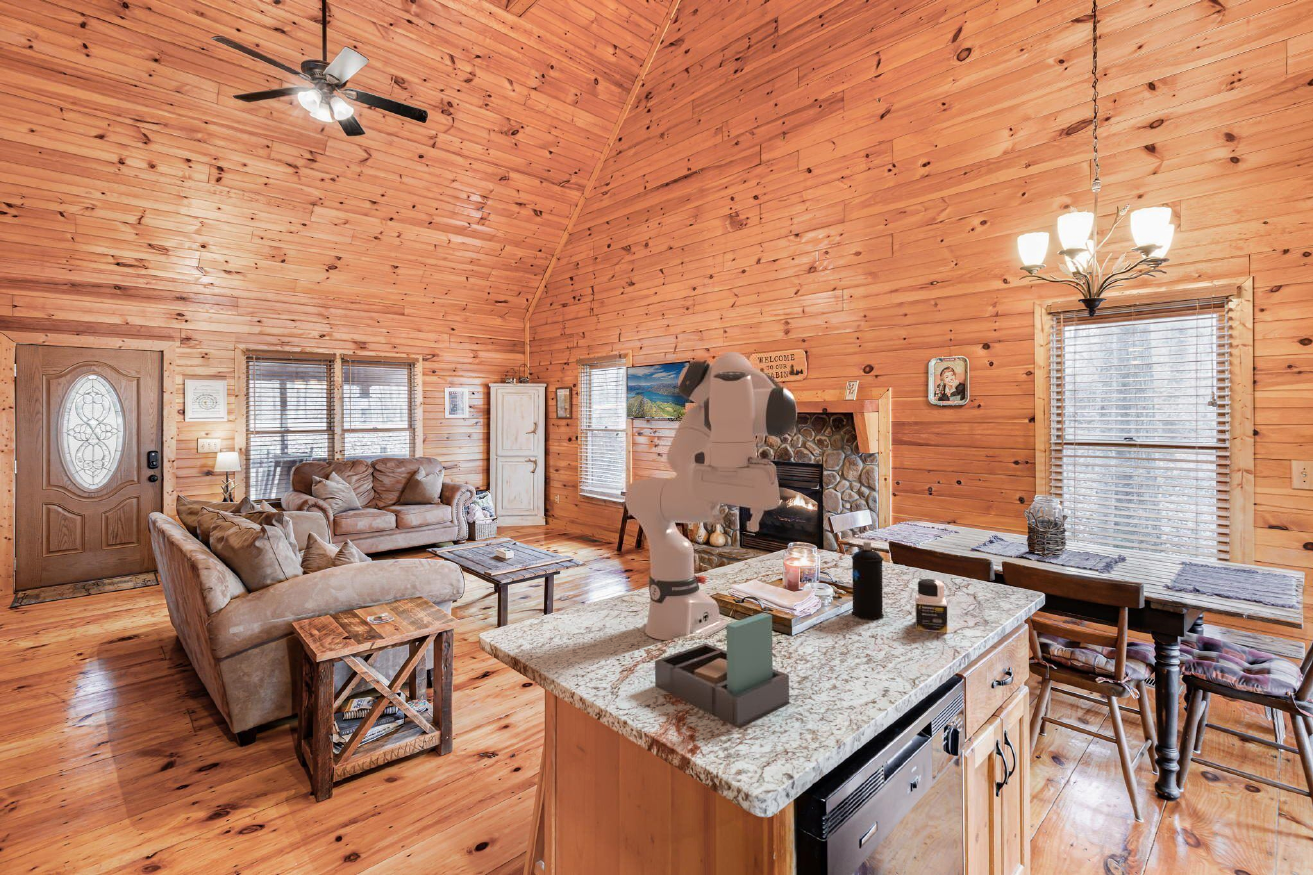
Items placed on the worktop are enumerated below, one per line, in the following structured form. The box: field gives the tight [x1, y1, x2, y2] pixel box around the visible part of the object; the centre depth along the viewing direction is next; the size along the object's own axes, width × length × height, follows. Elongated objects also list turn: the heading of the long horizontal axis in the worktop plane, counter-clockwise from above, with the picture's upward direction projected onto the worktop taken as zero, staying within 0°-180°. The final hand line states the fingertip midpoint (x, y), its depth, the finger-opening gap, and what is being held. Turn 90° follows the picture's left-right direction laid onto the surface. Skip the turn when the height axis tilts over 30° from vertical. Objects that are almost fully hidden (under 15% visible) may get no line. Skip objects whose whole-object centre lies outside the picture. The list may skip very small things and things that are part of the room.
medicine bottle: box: [914, 578, 948, 634], centre depth 153 cm, size 7×7×12 cm
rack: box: [654, 643, 792, 730], centre depth 113 cm, size 14×22×6 cm, turn 40°
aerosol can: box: [851, 541, 885, 621], centre depth 163 cm, size 8×8×20 cm
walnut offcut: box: [694, 658, 727, 685], centre depth 113 cm, size 8×5×2 cm, turn 138°
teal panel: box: [726, 612, 774, 694], centre depth 107 cm, size 10×2×16 cm, turn 130°
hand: (734, 527), depth 116 cm, fingers open, 8 cm apart
